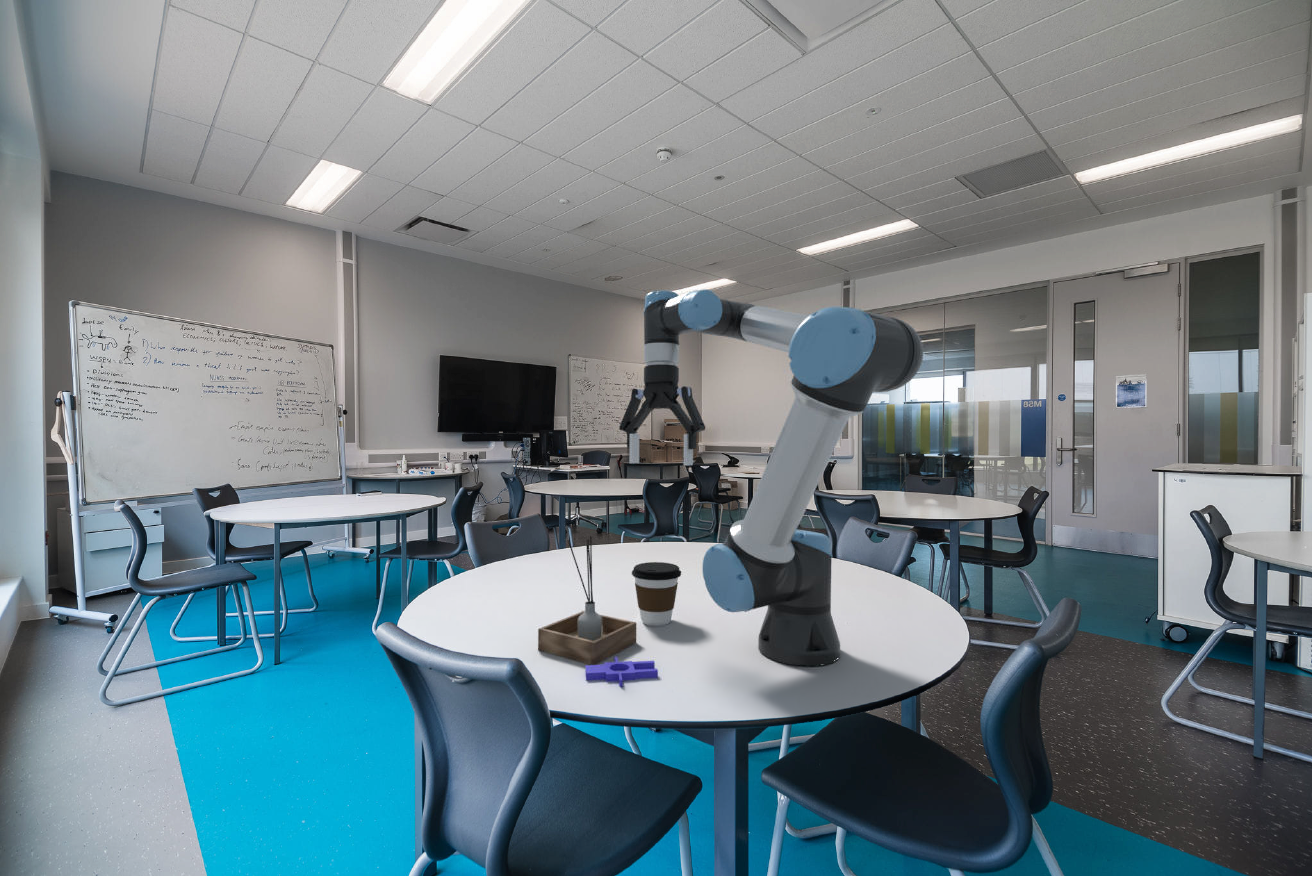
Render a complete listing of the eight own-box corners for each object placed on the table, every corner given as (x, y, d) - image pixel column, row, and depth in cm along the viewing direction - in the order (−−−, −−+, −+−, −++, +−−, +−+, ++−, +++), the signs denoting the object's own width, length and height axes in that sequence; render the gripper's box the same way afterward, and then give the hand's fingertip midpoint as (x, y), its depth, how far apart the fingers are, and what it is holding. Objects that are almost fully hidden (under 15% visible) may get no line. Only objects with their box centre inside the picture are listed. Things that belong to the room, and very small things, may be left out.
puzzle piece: (660, 687, 94) (660, 677, 94) (586, 691, 92) (586, 681, 92) (651, 663, 104) (651, 654, 104) (584, 667, 102) (584, 658, 102)
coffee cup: (672, 632, 119) (673, 574, 119) (623, 626, 123) (624, 570, 123) (686, 616, 130) (687, 563, 130) (641, 611, 133) (641, 560, 133)
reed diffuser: (600, 650, 106) (601, 542, 106) (563, 649, 106) (564, 541, 106) (604, 631, 116) (605, 532, 116) (570, 631, 116) (571, 532, 116)
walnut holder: (636, 642, 113) (636, 622, 113) (594, 665, 102) (594, 642, 102) (583, 630, 120) (583, 611, 120) (538, 650, 109) (538, 629, 109)
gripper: (721, 363, 120) (720, 465, 120) (623, 370, 133) (623, 461, 133) (705, 359, 113) (704, 466, 114) (604, 366, 127) (603, 462, 127)
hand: (660, 464), depth 123 cm, fingers open, 13 cm apart
